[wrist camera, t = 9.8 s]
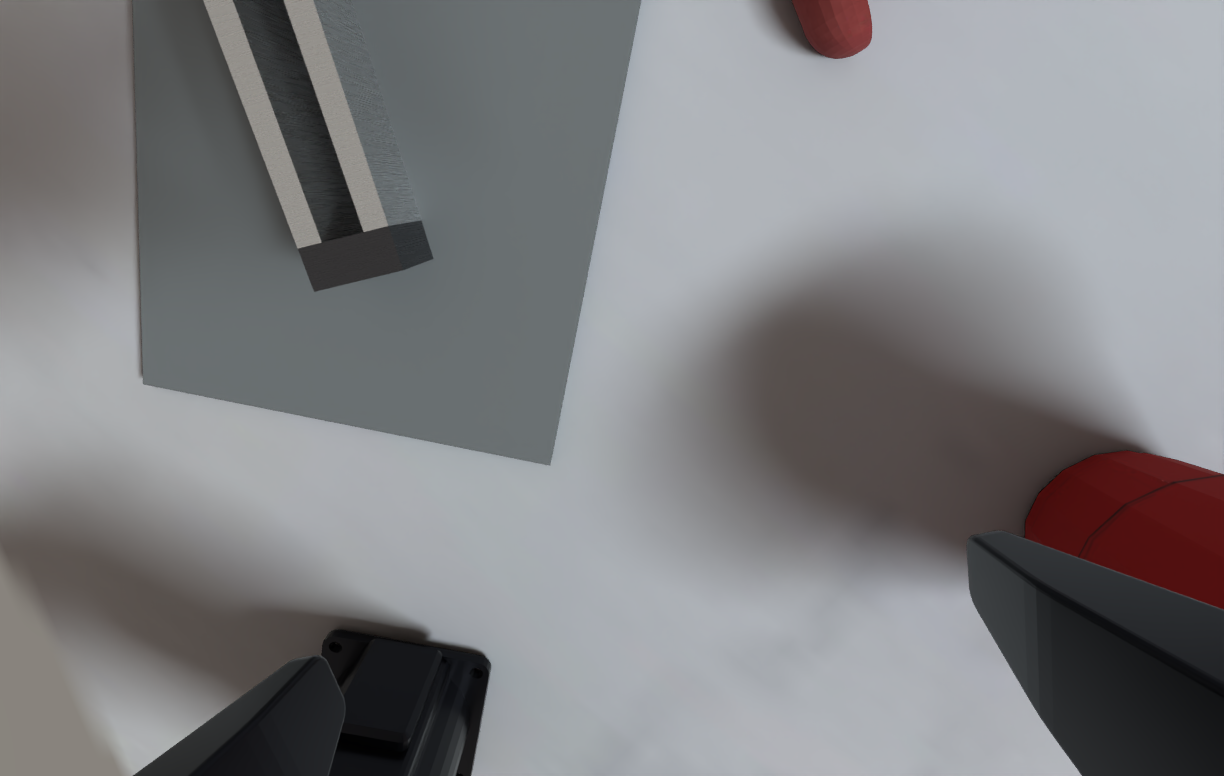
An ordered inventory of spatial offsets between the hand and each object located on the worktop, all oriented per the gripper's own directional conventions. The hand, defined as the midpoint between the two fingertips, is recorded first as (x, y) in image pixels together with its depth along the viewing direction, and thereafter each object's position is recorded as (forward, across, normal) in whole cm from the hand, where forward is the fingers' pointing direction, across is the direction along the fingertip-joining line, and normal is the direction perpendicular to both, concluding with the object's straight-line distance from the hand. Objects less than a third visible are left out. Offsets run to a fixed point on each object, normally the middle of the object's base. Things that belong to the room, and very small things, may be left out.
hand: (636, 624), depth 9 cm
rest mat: (+13, +6, -8) cm, 17 cm away
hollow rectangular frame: (+11, +7, -5) cm, 14 cm away
